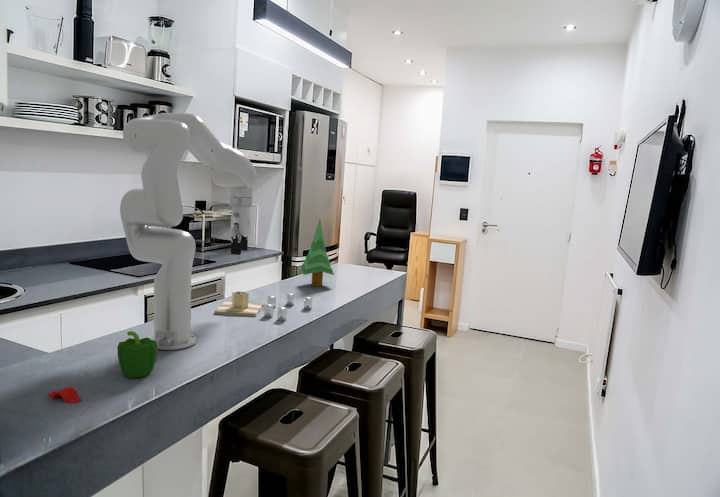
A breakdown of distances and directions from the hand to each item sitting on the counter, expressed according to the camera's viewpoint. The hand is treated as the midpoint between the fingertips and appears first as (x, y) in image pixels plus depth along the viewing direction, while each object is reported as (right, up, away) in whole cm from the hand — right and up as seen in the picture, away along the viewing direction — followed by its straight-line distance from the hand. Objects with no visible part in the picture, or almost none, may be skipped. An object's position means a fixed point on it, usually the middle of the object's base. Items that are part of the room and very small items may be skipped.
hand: (239, 252), depth 173 cm
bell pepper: (-11, -28, -55) cm, 63 cm away
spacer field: (+15, -21, +5) cm, 26 cm away
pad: (-1, -20, +4) cm, 20 cm away
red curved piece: (-20, -30, -69) cm, 77 cm away
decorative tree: (+22, -15, +49) cm, 56 cm away
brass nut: (-1, -19, +3) cm, 19 cm away
